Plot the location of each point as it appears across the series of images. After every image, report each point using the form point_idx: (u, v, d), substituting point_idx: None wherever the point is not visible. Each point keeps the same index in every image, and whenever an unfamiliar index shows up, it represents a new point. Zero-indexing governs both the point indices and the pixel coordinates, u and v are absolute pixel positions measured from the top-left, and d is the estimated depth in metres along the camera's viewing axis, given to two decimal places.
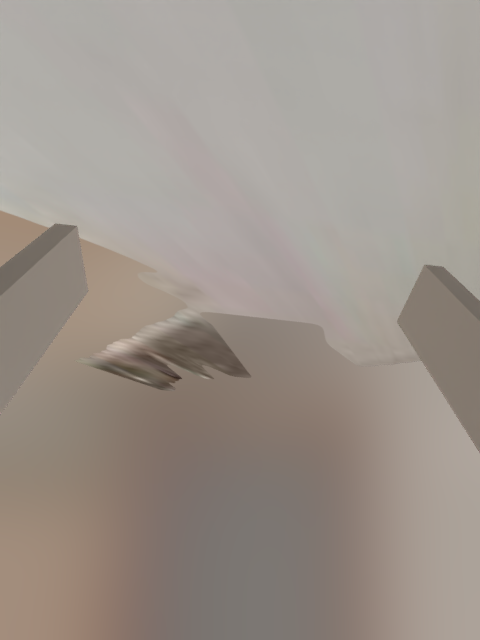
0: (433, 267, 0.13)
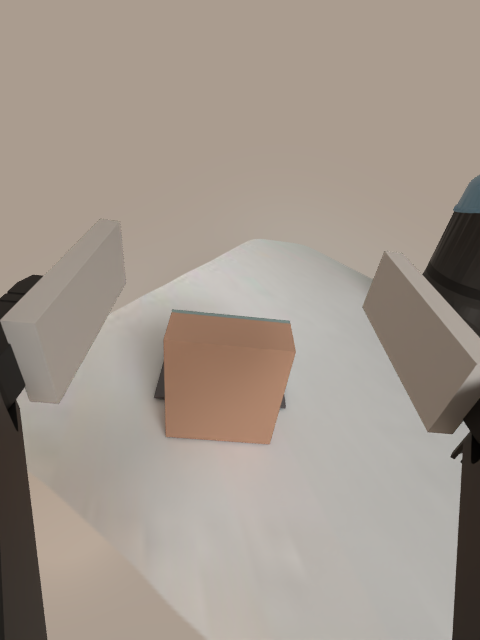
0: (392, 253, 0.13)
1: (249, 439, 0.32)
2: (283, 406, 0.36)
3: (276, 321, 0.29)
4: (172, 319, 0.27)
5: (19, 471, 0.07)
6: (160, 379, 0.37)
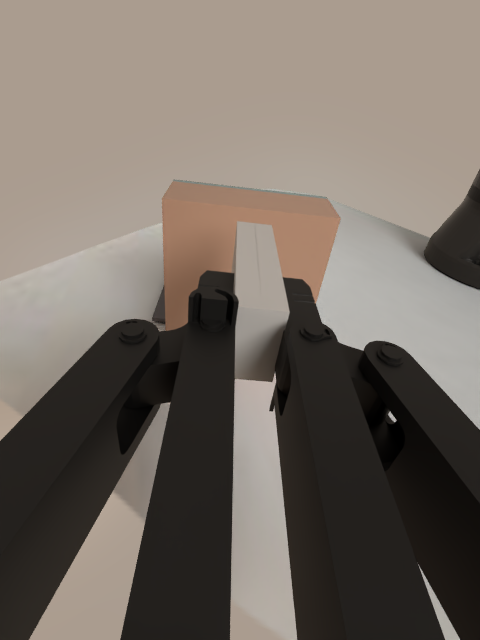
0: (261, 225, 0.14)
1: None
2: None
3: (309, 196, 0.22)
4: (174, 185, 0.20)
5: None
6: (159, 302, 0.31)
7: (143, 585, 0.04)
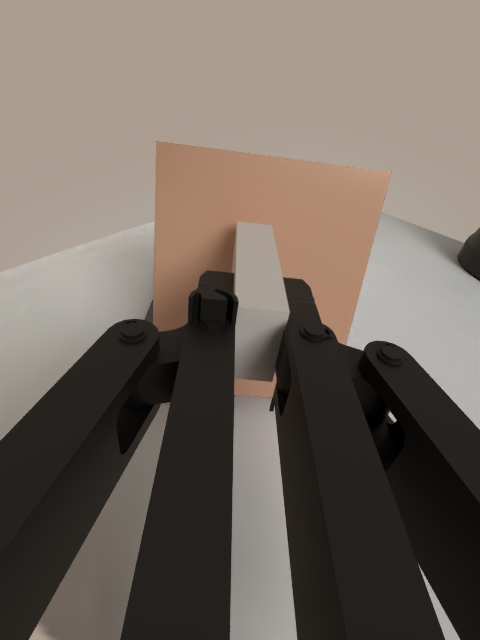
0: (261, 225, 0.14)
1: None
2: None
3: None
4: None
5: None
6: (147, 319, 0.24)
7: (143, 585, 0.04)
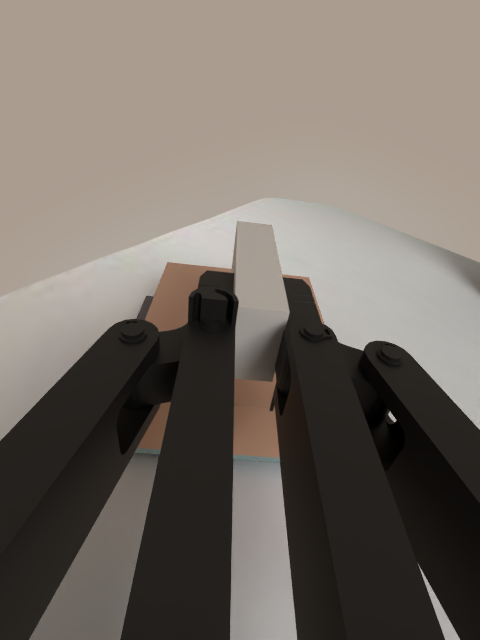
0: (261, 225, 0.14)
1: None
2: None
3: None
4: None
5: None
6: None
7: (143, 585, 0.04)
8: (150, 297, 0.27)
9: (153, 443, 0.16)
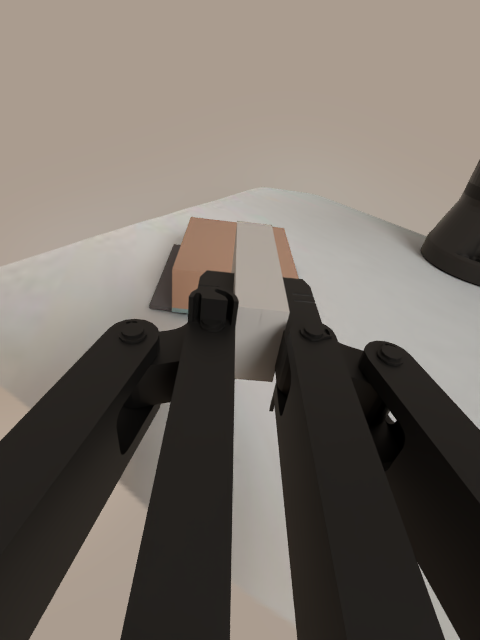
0: (261, 225, 0.14)
1: None
2: None
3: None
4: None
5: None
6: (157, 291, 0.30)
7: (143, 585, 0.04)
8: (177, 245, 0.39)
9: None
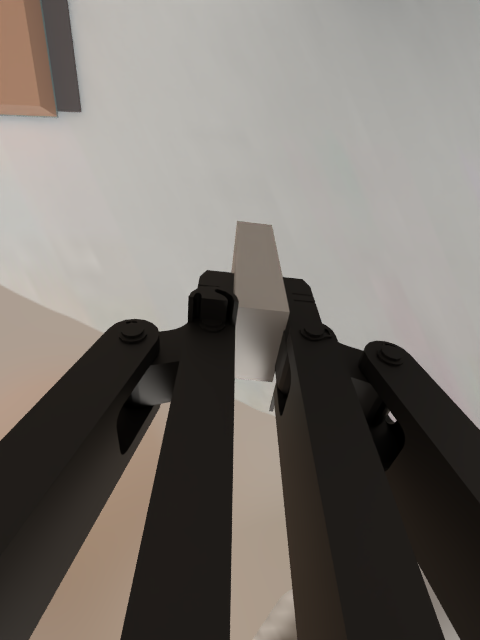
0: (261, 225, 0.14)
1: (12, 98, 0.27)
2: (77, 111, 0.31)
3: None
4: None
5: None
6: None
7: (143, 585, 0.04)
8: None
9: None
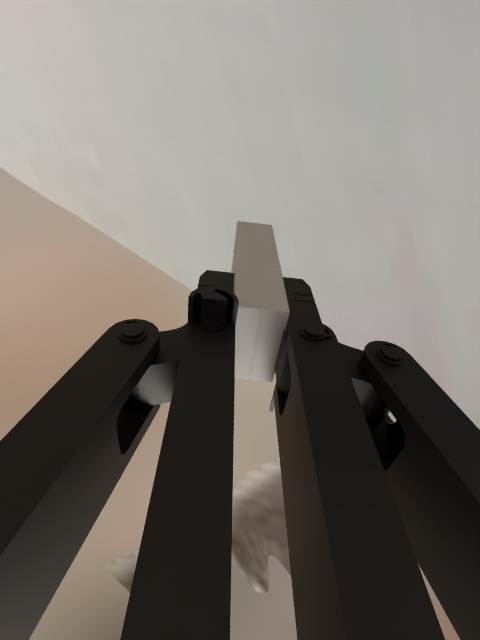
0: (260, 225, 0.14)
1: None
2: None
3: None
4: None
5: None
6: None
7: (143, 585, 0.04)
8: None
9: None
